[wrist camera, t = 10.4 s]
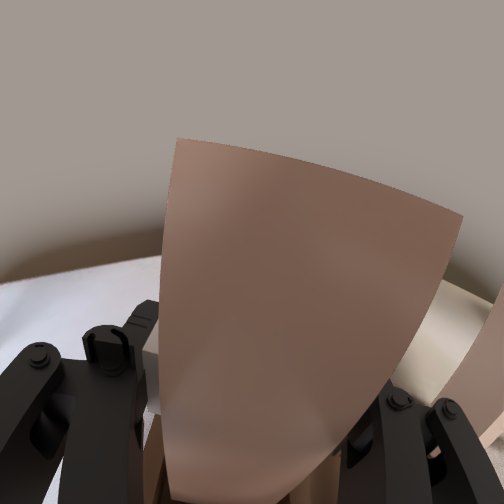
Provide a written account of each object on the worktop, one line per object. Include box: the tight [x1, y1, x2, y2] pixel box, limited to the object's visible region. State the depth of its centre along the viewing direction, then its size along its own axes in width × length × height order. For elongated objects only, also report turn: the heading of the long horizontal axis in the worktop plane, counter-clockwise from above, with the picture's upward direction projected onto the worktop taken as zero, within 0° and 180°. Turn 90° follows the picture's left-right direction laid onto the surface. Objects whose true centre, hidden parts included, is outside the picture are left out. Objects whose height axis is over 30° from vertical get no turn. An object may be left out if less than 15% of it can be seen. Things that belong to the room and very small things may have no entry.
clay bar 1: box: [158, 138, 463, 504], centre depth 8 cm, size 4×4×14 cm
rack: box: [143, 414, 347, 504], centre depth 11 cm, size 22×9×4 cm, turn 89°
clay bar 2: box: [429, 283, 504, 457], centre depth 9 cm, size 4×4×14 cm
